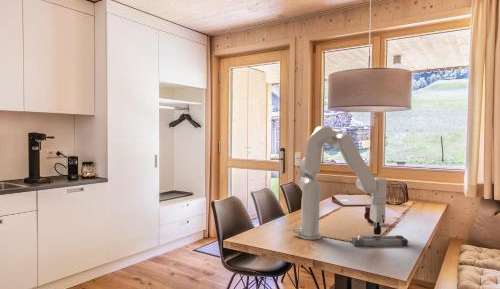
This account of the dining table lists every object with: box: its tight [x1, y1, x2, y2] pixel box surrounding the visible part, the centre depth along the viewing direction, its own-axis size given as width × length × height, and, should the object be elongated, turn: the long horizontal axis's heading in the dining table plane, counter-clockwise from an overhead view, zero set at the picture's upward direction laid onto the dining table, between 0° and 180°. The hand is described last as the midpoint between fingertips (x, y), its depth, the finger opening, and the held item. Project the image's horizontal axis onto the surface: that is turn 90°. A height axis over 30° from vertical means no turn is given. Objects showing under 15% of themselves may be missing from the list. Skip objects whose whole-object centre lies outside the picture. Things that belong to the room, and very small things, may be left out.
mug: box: [363, 204, 374, 224], centre depth 214 cm, size 11×8×10 cm
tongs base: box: [351, 235, 409, 248], centre depth 174 cm, size 27×5×4 cm, turn 93°
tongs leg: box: [361, 234, 405, 238], centre depth 178 cm, size 22×3×3 cm, turn 93°
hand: (377, 234), depth 188 cm, fingers closed
